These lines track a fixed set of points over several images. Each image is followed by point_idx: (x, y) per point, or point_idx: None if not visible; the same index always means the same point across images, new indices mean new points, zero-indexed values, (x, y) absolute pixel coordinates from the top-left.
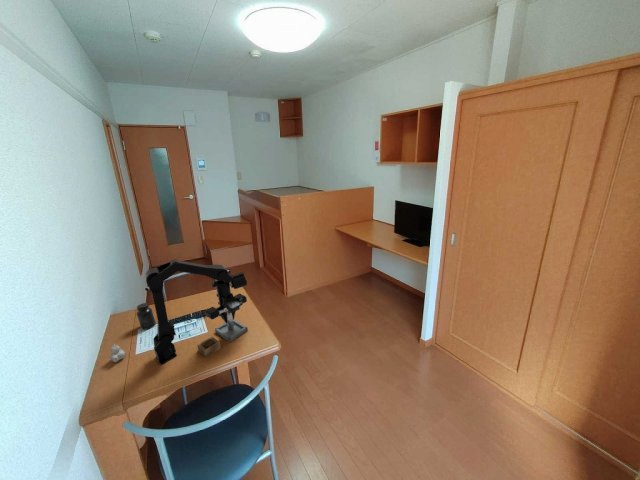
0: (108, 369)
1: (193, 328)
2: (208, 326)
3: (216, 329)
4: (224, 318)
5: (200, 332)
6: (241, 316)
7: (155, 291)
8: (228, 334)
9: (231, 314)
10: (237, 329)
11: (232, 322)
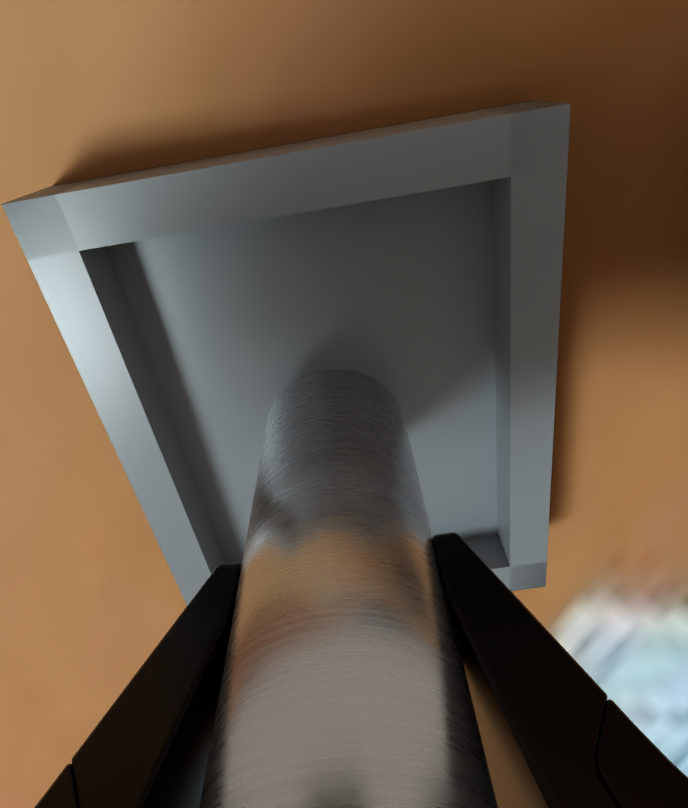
0: None
1: (637, 725)
2: None
3: (541, 557)
4: (621, 728)
5: (643, 637)
6: (65, 616)
7: None
8: (438, 328)
9: (244, 789)
10: (232, 350)
11: (296, 484)
